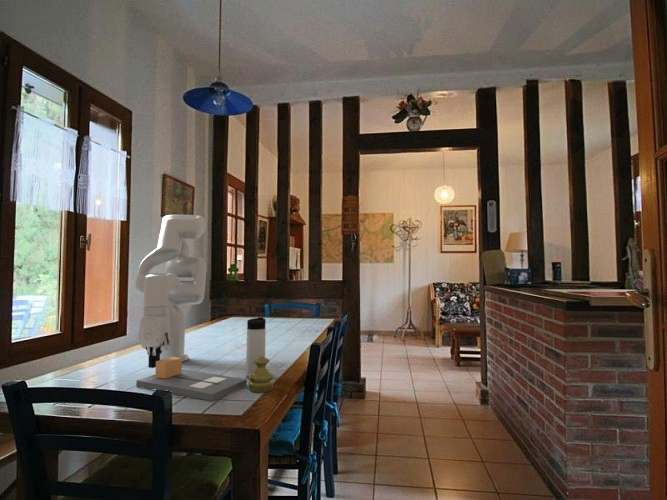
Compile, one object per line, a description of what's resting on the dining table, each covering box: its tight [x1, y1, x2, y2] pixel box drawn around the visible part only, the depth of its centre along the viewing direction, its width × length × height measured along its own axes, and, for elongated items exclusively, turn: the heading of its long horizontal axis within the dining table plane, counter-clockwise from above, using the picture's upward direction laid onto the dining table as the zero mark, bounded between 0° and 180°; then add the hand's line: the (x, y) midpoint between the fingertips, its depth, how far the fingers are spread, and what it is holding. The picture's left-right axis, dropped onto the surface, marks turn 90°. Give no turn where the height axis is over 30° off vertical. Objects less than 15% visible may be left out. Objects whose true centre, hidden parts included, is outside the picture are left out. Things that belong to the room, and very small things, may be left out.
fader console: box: [135, 368, 248, 402], centre depth 122 cm, size 30×16×2 cm, turn 66°
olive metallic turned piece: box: [248, 356, 274, 394], centre depth 120 cm, size 7×7×10 cm
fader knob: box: [154, 357, 183, 379], centre depth 126 cm, size 4×7×5 cm, turn 156°
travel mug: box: [245, 317, 267, 380], centre depth 133 cm, size 6×7×20 cm
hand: (154, 366), depth 129 cm, fingers closed
